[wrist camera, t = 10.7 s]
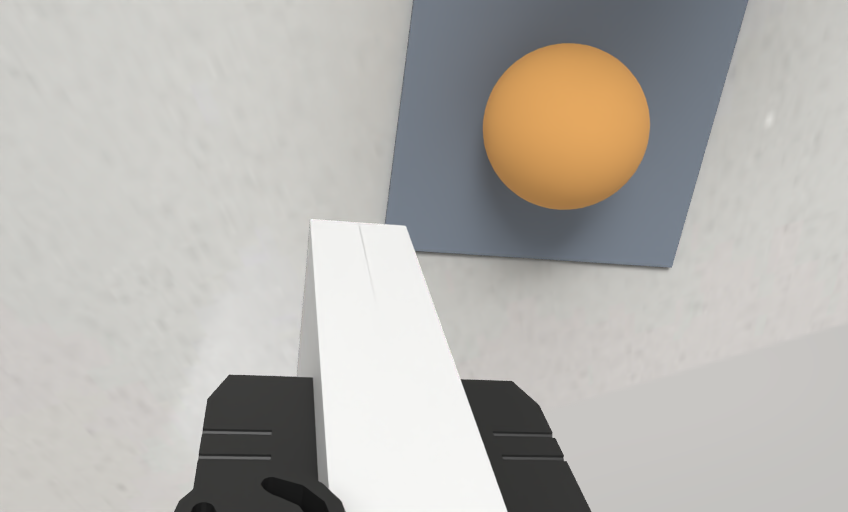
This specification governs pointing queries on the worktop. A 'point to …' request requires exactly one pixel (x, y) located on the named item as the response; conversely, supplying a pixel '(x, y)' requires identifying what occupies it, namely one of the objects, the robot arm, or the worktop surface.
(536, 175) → the ball
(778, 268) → the worktop surface
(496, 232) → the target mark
